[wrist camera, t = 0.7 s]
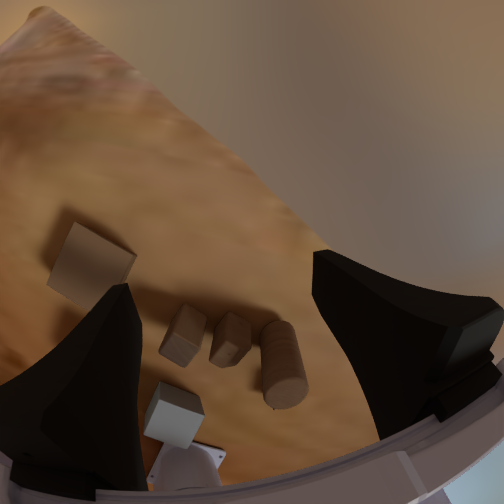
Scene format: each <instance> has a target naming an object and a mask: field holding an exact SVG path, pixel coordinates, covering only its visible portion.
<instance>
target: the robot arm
mask: <svg viewBox="0 0 504 504" xmlns="http://www.w3.org/2000/svg"><path fill="white" fill-rule="evenodd" d="M312 296H313V299H314V301H315V303H316V306H317V308H318V310H319V312H320V314H321V316H322V317H323V319H324V321H325V322H326V324H327V325H328V327H329V329H330V330H331V332H332V333H333V335H334V337H335V338H336V340H337V341H338V343H339V344H340V346H341V348H342V349H343V351H344V352H345V354H346V356H347V358H348V359H349V361H350V363H351V365H352V367H353V369H354V372H355V374H356V376H357V378H358V380H359V383H360V385H361V388H362V390H363V392H364V395H365V397H366V400H367V402H368V405H369V408H370V411H371V413H372V416H373V419H374V422H375V425H376V429H377V432H378V435H379V438H380V441H379V442H376V443H374V444H372V445H369V446H367V447H365V448H362V449H360V450H357V451H355V452H352V453H349V454H347V455H344V456H341V457H338V458H336V459H333V460H330V461H327V462H324V463H321V464H318V465H314V466H311V467H308V468H304V469H301V470H297V471H294V472H290V473H286V474H282V475H278V476H274V477H269V478H265V479H260V480H255V481H250V482H244V483H239V484H232V485H226V486H222V483H221V480H220V477H219V474H218V471H217V469H218V467H219V466H220V464H221V462H222V461H223V459H224V457H225V455H226V451H225V450H221V449H217V448H214V447H210V446H206V445H203V444H199V443H196V442H191V444H190V446H189V448H188V449H183V448H180V447H177V446H174V445H171V444H168V443H165V442H164V444H163V446H162V448H161V450H160V452H159V454H158V456H157V458H156V460H155V462H154V464H153V466H152V469H151V471H150V473H149V475H148V477H147V481H146V476H145V471H144V466H143V460H142V453H141V447H140V438H139V427H138V411H137V394H138V383H139V373H140V364H141V355H142V322H141V320H140V317H139V314H138V312H137V309H136V306H135V303H134V301H133V298H132V295H131V292H130V289H129V286H128V283H124V284H118V285H113V286H112V287H111V288H110V289H109V290H108V291H107V292H106V293H105V294H104V295H103V296H102V297H101V299H100V300H99V301H98V302H97V303H96V304H95V306H94V307H93V308H92V309H91V310H90V311H89V313H88V314H87V315H86V316H85V317H84V318H83V319H82V320H81V322H80V323H79V324H78V325H77V326H76V327H75V328H74V329H73V330H72V331H71V332H70V333H69V335H68V336H67V337H66V338H64V339H63V340H62V341H61V342H60V343H59V344H58V345H57V346H56V347H55V348H54V349H53V350H52V351H50V352H49V353H48V354H47V355H45V356H44V357H43V358H42V359H40V360H39V361H38V362H37V363H35V364H34V365H33V366H31V367H30V368H29V369H27V370H26V371H24V372H23V373H21V374H20V375H18V376H17V377H15V378H13V379H12V380H10V381H8V382H7V383H5V384H3V385H1V386H0V451H1V452H2V453H3V454H5V455H6V456H7V457H8V458H10V459H11V460H12V461H13V462H12V467H9V466H7V465H5V464H2V463H0V504H451V502H450V501H449V499H448V497H447V496H446V493H445V492H444V490H443V488H444V487H445V486H447V485H448V484H450V483H451V482H452V481H454V480H455V479H457V478H458V477H459V476H461V475H462V474H464V473H465V472H466V471H467V470H469V469H470V468H471V467H473V466H474V465H475V464H477V463H478V462H479V461H480V460H481V459H483V458H484V457H485V456H486V455H487V454H489V453H490V452H491V451H492V450H493V449H494V448H495V447H496V446H498V445H499V444H500V443H501V442H502V441H503V440H504V358H503V359H502V360H501V361H500V362H499V363H498V364H497V365H496V366H495V365H494V364H493V363H492V360H493V358H494V355H493V354H492V352H491V351H490V348H491V346H492V344H493V343H494V341H495V339H496V337H497V335H498V333H499V331H500V329H501V327H502V324H503V321H504V310H503V308H502V307H501V306H500V305H499V304H498V303H496V302H495V301H494V300H493V299H492V298H490V297H480V296H464V295H457V294H450V293H445V292H439V291H435V290H430V289H426V288H422V287H418V286H415V285H412V284H409V283H406V282H403V281H399V280H397V279H394V278H391V277H389V276H387V275H384V274H382V273H379V272H377V271H375V270H372V269H370V268H368V267H366V266H364V265H361V264H359V263H357V262H355V261H353V260H351V259H349V258H347V257H345V256H343V255H340V254H338V253H336V252H334V251H331V250H328V249H327V250H321V251H315V252H313V277H312ZM220 455H222V456H221V457H220ZM151 475H153V476H151ZM147 482H149V483H152V484H153V486H154V491H149V490H148V485H147Z"/></svg>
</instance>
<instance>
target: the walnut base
mask: <svg viewBox="0 0 504 504" xmlns="http://www.w3.org/2000/svg"><path fill="white" fill-rule="evenodd" d="M136 257H137V255H135V254H133V253H132V252H130V251H128V250H126V249H125V248H123V247H121V246H119V245H117V244H116V243H114V242H112V241H110V240H109V239H107V238H105V237H104V236H102V235H100V234H98V233H97V232H95V231H93V230H92V229H90V228H88V227H87V226H85V225H82V224H80V223H78V222H74V224H73V226H72V228H71V230H70V232H69V234H68V236H67V238H66V240H65V242H64V244H63V246H62V249H61V251H60V253H59V255H58V257H57V260H56V262H55V264H54V267H53V269H52V272H51V274H50V276H49V279H48V281H47V284H46V285H48V286H49V287H51V288H52V289H54V290H55V291H57V292H58V293H60V294H62V295H63V296H65V297H66V298H68V299H70V300H71V301H73V302H74V303H76V304H78V305H79V306H81V307H83V308H84V309H86V310H88V311H90V310H91V309H92V308H93V307H94V306H95V304H96V303H97V302H98V301H99V300H100V299H101V297H102V296H103V295H104V294H105V293H106V292H107V291H108V290H109V289H110V288H111V287H112V286H113V285H118V284H124V282H125V280H126V278H127V276H128V274H129V272H130V270H131V267H132V265H133V263H134V261H135V259H136Z"/></svg>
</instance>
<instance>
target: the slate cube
mask: <svg viewBox="0 0 504 504" xmlns="http://www.w3.org/2000/svg"><path fill="white" fill-rule="evenodd" d="M204 417H205V414H204V411H203V407H202V404H201V400H200V397H199V396H197V395H195V394H192V393H189V392H186V391H184V390H181V389H179V388H176V387H174V386H171V385H169V384H166V383H164V382H161V381H159V384H158V386H157V388H156V390H155V393H154V395H153V397H152V399H151V402H150V404H149V406H148V409H147V411H146V413H145V422H144V434H143V435H145V436H148V437H151V438H153V439H156V440H159V441H162V442H165V443H168V444H171V445H174V446H177V447H180V448H183V449H188V448H189V446H190V444H191V442H192V440H193V438H194V436H195V434H196V432H197V430H198V428H199V426H200V425H201V423H202V421H203V419H204Z"/></svg>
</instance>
